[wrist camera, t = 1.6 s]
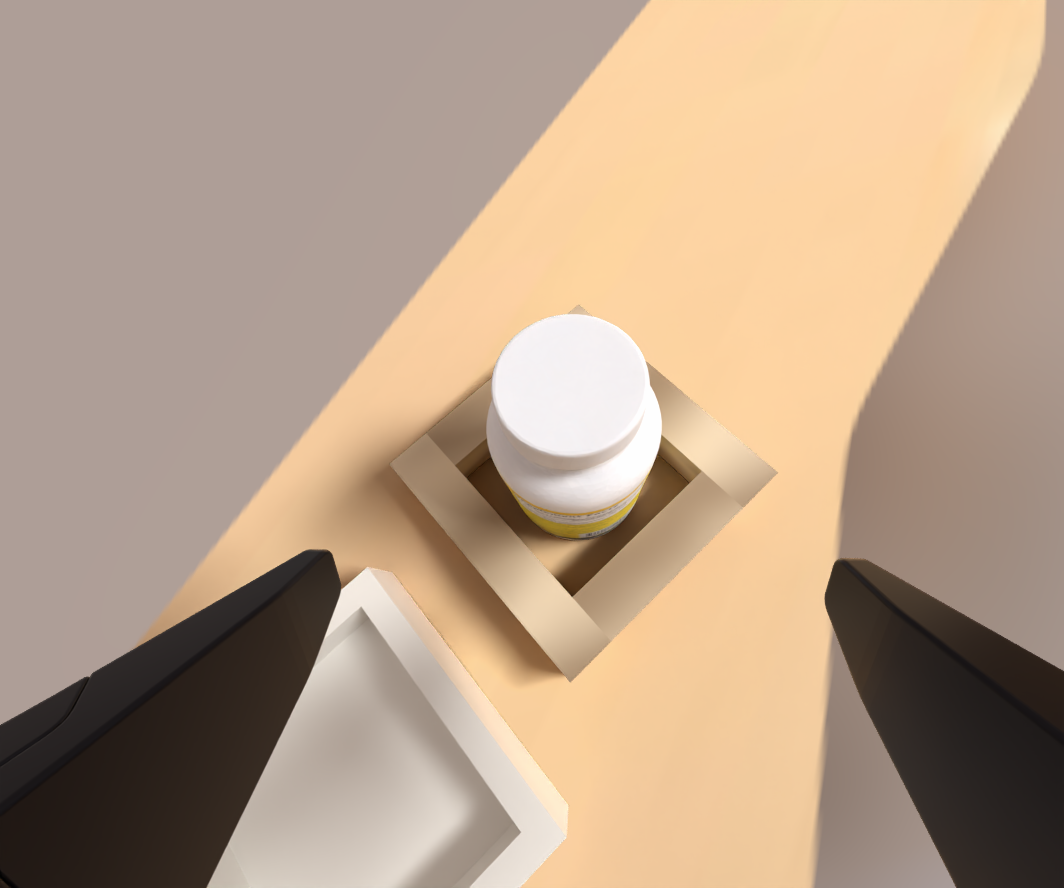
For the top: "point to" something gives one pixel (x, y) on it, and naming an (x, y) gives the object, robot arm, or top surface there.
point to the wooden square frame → (635, 571)
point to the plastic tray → (393, 769)
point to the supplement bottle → (573, 424)
